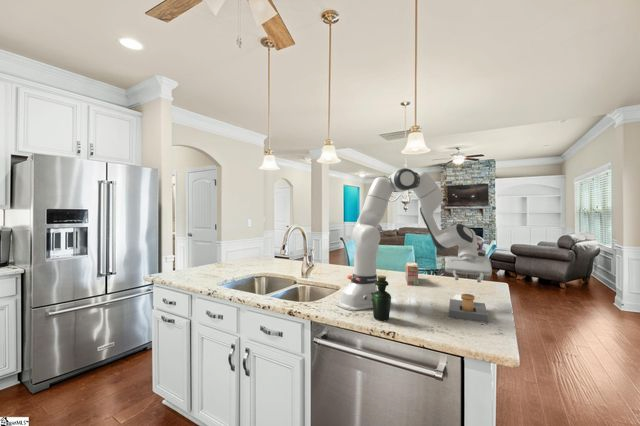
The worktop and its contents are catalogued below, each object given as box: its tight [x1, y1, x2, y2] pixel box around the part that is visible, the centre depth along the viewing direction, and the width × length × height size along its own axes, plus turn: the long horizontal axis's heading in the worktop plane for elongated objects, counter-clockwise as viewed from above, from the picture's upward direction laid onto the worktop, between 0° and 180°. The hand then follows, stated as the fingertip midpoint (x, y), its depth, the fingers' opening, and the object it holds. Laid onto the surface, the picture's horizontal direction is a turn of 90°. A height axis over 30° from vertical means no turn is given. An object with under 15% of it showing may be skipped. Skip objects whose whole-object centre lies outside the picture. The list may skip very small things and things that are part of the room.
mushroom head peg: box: [460, 293, 475, 312], centre depth 135 cm, size 5×5×9 cm
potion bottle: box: [372, 275, 392, 322], centre depth 130 cm, size 8×8×18 cm
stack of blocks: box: [404, 262, 419, 287], centre depth 197 cm, size 21×6×12 cm, turn 168°
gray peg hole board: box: [448, 297, 489, 323], centre depth 138 cm, size 18×15×6 cm
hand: (467, 280), depth 142 cm, fingers open, 8 cm apart
